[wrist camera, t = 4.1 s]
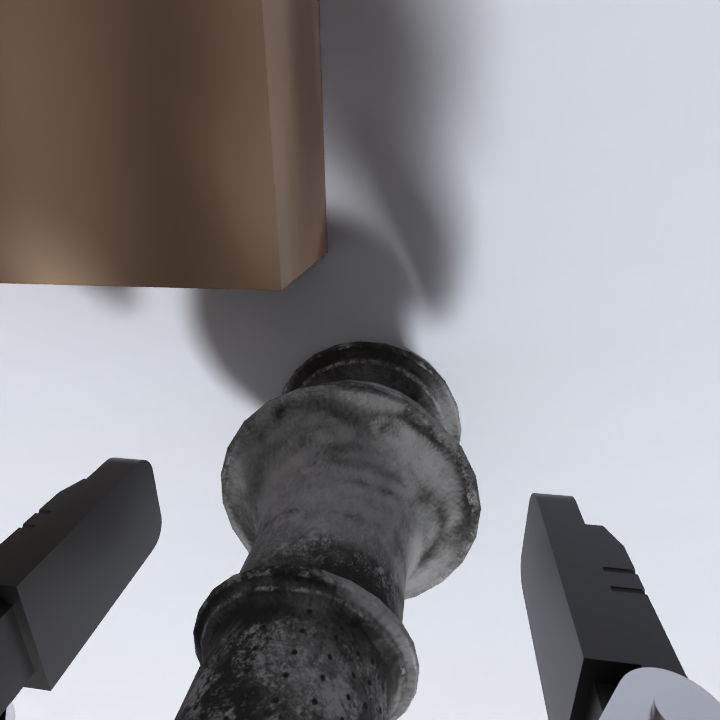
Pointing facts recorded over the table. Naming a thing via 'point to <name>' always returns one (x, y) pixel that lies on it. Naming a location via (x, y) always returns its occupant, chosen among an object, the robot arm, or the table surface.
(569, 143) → the table surface
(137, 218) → the walnut plinth
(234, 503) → the stone chess piece
